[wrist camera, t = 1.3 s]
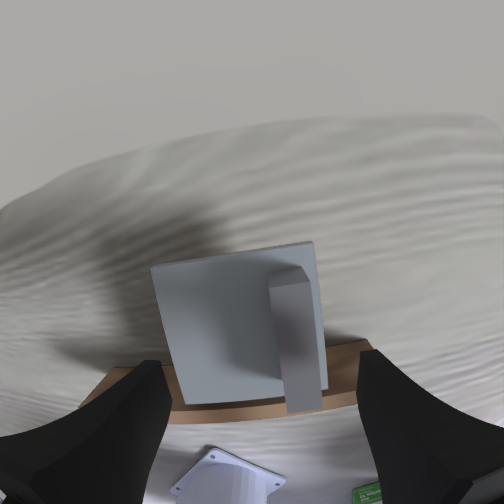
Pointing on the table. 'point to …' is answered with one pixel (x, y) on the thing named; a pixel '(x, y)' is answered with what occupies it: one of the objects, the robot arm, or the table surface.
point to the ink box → (367, 494)
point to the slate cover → (246, 326)
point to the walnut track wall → (337, 395)
